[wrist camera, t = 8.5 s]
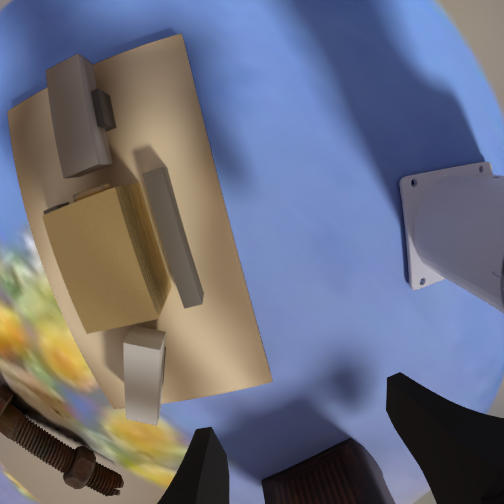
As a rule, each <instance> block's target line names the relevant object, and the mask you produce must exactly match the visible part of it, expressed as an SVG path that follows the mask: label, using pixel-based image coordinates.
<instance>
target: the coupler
mask: <svg viewBox="0 0 504 504" xmlns="http://www.w3.org/2000/svg"><path fill="white" fill-rule="evenodd" d="M73 199H74V203H72V204H69V205H67V206H64V207H62V208H59V209H57V210H54V211H52V212H50V213H47V214H45V215H43V216H42V218H43V221H44V225H45V228H46V231H47V234H48V238H49V241H50V244H51V247H52V250H53V253H54V256H55V258H56V261H57V264H58V267H59V270H60V272H61V275H62V278H63V280H64V283H65V285H66V288H67V290H68V293H69V295H70V298H71V300H72V302H73V305H74V307H75V309H76V312H77V314H78V316H79V318H80V321H81V323H82V325H83V327H84V329H85V331H86V333H87V334H89V333H94V332H99V331H104V330H109V329H114V328H118V327H123V326H128V325H132V324H137V323H142V322H146V321H151V320H155V319H159V317H160V315H161V312H162V310H163V307H164V305H165V302H166V300H167V297H168V295H169V292H170V290H171V288H172V285H171V282H170V279H169V276H168V273H167V270H166V267H165V264H164V261H163V258H162V255H161V252H160V249H159V246H158V242H157V239H156V236H155V233H154V230H153V226H152V223H151V220H150V216H149V213H148V209H147V206H146V202H145V199H144V195H143V192H142V188H141V184H140V183H135V184H129V185H124V186H119V187H114V188H111V185H110V183H106V184H102V185H99V186H96V187H93V188H90V189H87V190H84V191H82V192H79V193H77V194H75V195H73Z"/></svg>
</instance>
